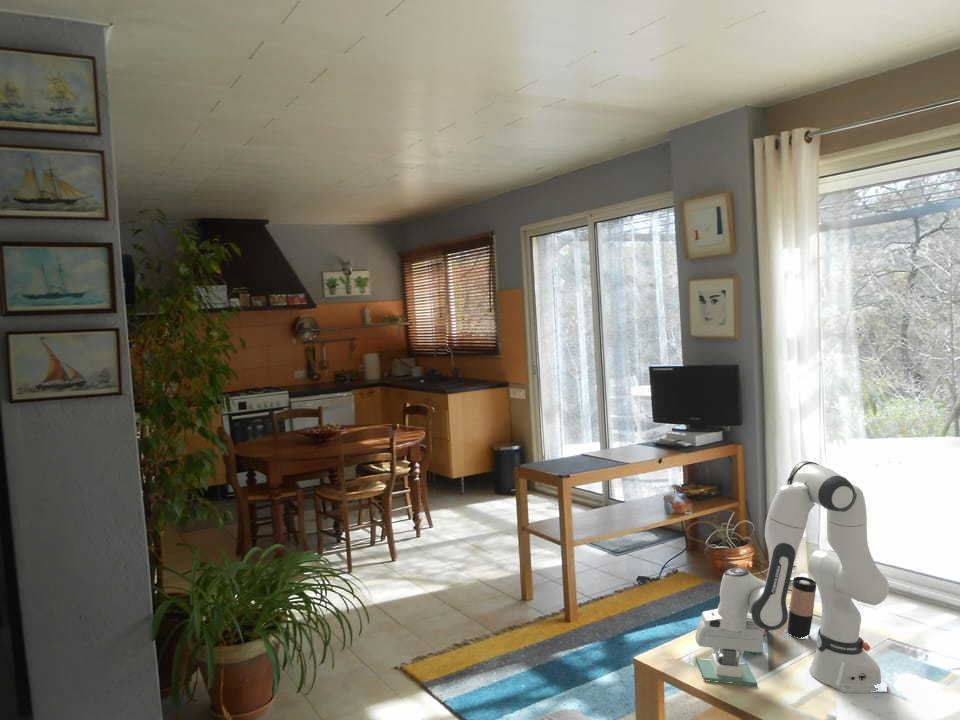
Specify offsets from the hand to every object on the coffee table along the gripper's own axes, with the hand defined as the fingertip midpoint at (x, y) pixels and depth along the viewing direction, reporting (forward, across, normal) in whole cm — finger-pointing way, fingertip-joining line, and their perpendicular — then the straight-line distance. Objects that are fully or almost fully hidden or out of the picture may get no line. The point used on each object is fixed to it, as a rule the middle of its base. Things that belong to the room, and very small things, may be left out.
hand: (726, 661), depth 234 cm
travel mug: (+4, -33, -32) cm, 46 cm away
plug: (+3, 0, 0) cm, 3 cm away
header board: (+4, 0, 0) cm, 4 cm away
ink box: (+4, -11, -18) cm, 22 cm away
